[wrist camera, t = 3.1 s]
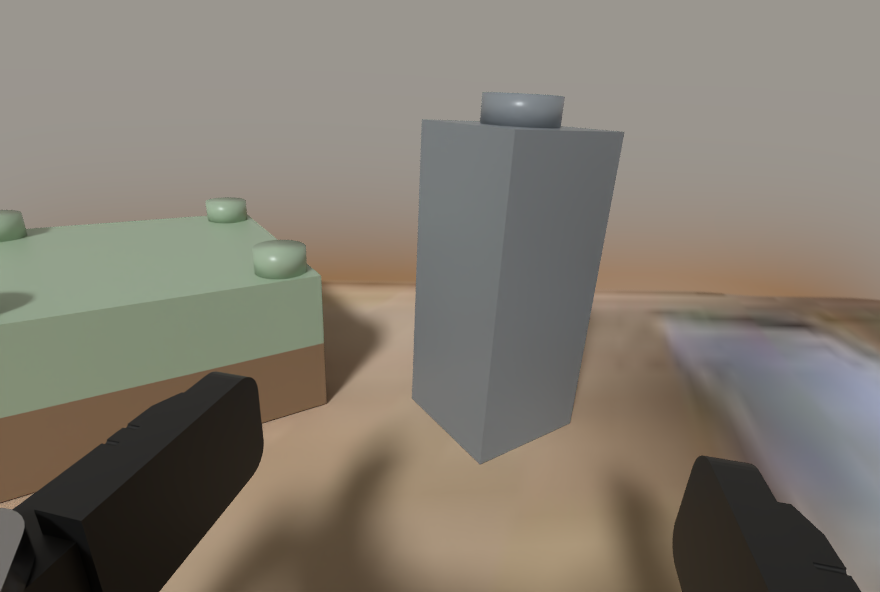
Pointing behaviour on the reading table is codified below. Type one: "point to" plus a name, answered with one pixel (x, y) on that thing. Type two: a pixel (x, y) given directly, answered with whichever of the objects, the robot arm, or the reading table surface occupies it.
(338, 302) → the reading table surface
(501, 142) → the tall brick
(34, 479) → the tower base
